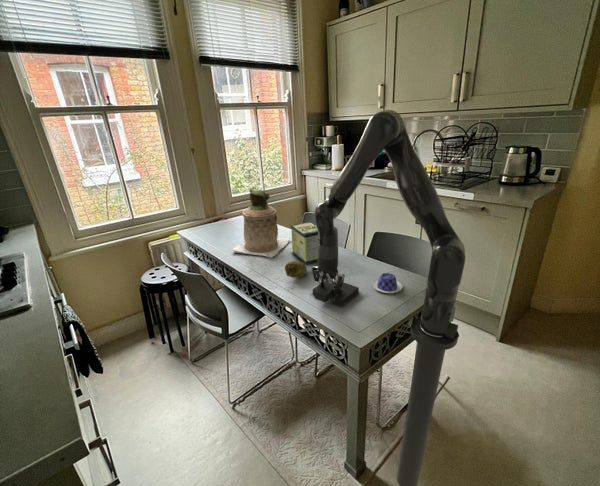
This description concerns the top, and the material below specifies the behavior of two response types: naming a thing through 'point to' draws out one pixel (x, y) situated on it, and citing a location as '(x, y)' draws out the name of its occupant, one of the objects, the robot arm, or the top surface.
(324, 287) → the black rectangular block
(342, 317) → the top surface
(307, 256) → the protein box
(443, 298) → the robot arm
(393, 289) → the pudding
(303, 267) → the potato
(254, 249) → the cookie jar
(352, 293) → the base pad
